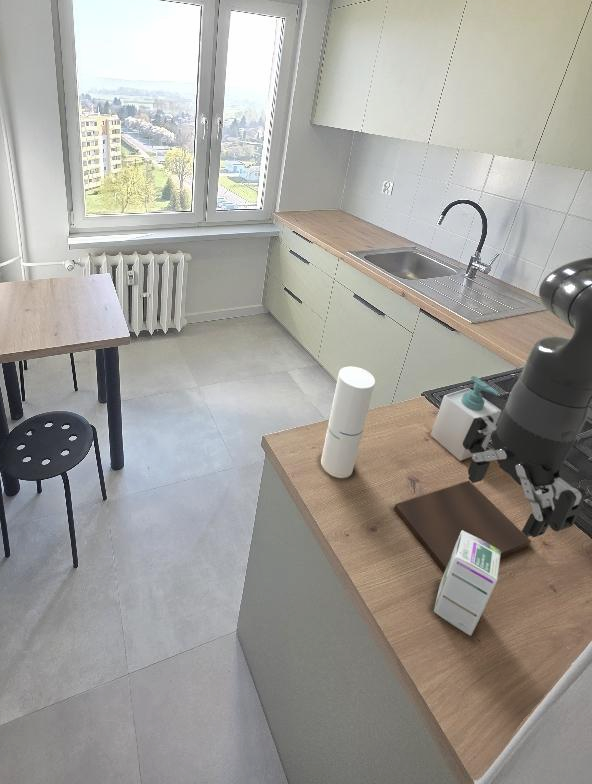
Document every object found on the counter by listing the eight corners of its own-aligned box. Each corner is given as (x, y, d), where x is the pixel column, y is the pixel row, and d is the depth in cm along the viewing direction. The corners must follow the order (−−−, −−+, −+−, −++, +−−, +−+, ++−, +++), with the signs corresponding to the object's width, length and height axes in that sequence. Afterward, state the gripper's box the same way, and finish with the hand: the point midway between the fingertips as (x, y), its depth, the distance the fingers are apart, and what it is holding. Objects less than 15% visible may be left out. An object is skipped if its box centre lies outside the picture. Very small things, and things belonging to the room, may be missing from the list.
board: (467, 485, 92) (468, 480, 92) (528, 546, 80) (531, 541, 80) (393, 509, 86) (395, 504, 86) (448, 578, 74) (450, 573, 74)
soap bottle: (460, 462, 98) (485, 398, 90) (430, 435, 106) (450, 374, 98) (485, 452, 101) (512, 389, 93) (454, 426, 109) (476, 366, 101)
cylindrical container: (350, 482, 92) (373, 392, 82) (318, 470, 94) (336, 381, 84) (354, 459, 98) (376, 372, 88) (324, 448, 100) (341, 362, 90)
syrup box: (471, 638, 66) (500, 582, 60) (431, 611, 69) (455, 556, 63) (476, 606, 70) (504, 550, 64) (438, 582, 74) (461, 527, 68)
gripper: (627, 454, 47) (571, 546, 54) (511, 377, 60) (478, 459, 66) (580, 468, 45) (528, 562, 52) (471, 385, 58) (440, 470, 64)
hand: (500, 504), depth 59 cm, fingers open, 8 cm apart
